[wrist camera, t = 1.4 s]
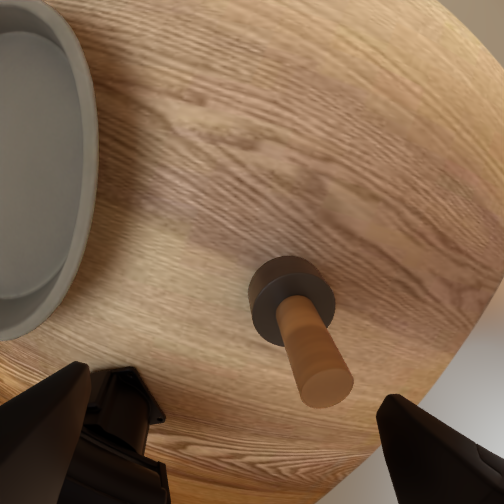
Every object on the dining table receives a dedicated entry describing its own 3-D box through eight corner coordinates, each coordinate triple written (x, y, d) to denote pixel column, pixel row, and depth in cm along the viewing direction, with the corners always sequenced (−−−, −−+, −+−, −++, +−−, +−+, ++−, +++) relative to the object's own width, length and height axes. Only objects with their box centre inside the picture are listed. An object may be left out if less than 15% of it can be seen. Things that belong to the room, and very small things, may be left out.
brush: (327, 311, 23) (383, 405, 13) (259, 332, 23) (281, 439, 13) (314, 246, 21) (380, 323, 12) (238, 268, 21) (253, 364, 12)
